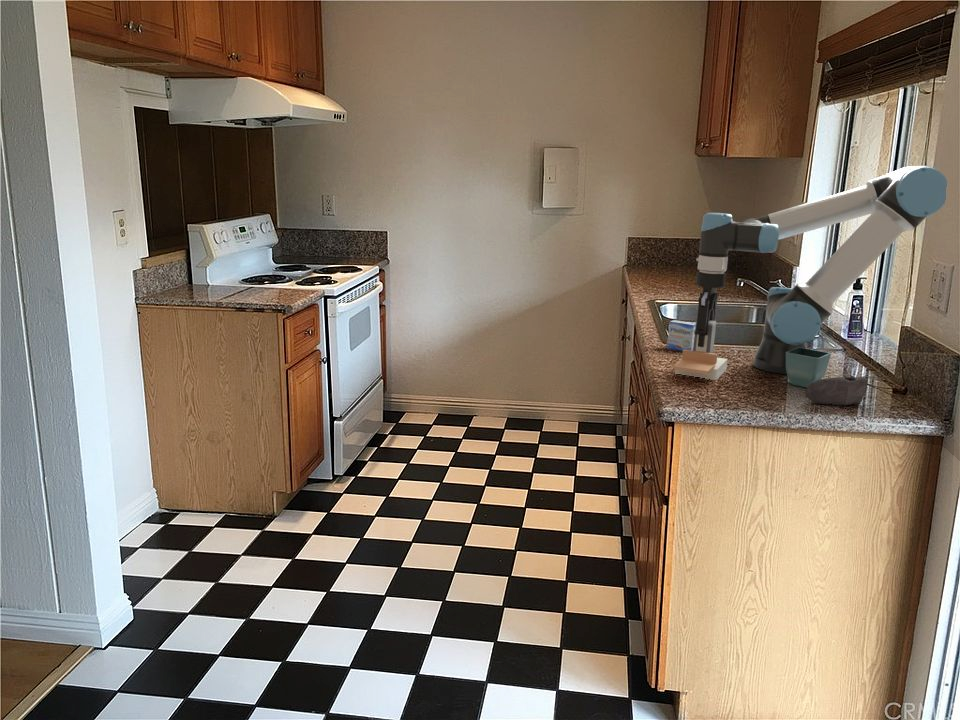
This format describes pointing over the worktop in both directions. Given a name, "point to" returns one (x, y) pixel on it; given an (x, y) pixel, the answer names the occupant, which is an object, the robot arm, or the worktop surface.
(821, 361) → the flower pot
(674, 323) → the medicine box
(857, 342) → the worktop surface
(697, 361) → the shutter
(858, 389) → the perforated stone tool
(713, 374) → the socket housing
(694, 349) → the plug
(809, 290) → the robot arm
